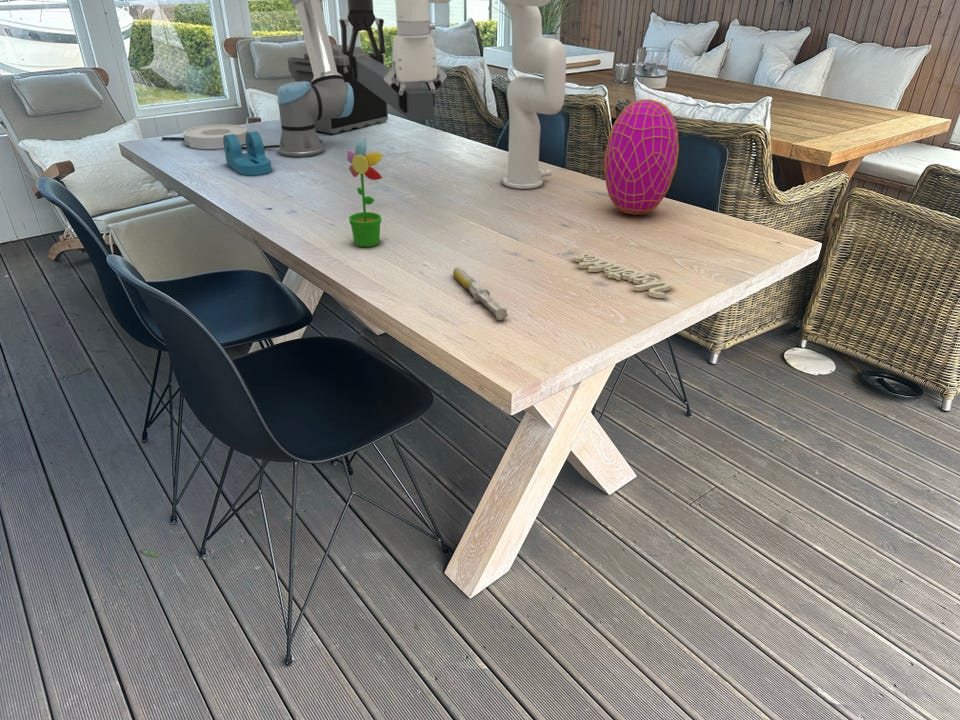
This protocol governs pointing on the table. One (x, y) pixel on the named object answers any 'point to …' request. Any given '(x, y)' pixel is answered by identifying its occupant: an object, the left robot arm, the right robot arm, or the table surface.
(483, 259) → the table surface
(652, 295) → the decorative sign
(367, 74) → the post
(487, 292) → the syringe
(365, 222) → the potted flower
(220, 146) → the ashtray
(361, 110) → the electronic device
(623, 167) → the decorative egg
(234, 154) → the camera mount
